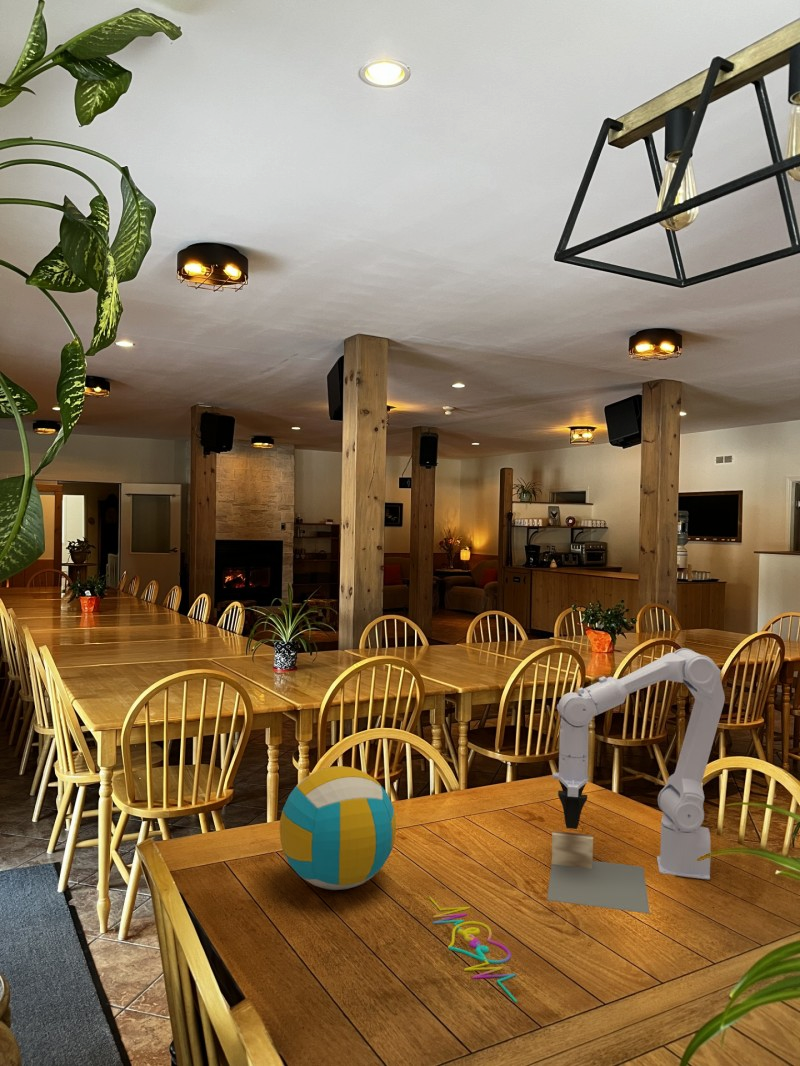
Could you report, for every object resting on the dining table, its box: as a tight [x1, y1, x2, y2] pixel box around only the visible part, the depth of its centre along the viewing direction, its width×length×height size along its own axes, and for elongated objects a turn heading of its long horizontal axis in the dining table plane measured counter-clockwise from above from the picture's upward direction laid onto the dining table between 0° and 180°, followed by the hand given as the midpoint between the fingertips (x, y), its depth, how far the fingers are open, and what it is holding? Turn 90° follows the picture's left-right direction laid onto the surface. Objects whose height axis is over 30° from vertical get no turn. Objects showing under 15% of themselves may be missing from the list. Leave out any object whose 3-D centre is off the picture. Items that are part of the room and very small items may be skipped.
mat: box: [546, 860, 650, 915], centre depth 154 cm, size 18×20×1 cm
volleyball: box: [279, 765, 397, 891], centre depth 152 cm, size 22×22×22 cm
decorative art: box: [428, 896, 518, 1004], centre depth 132 cm, size 34×1×10 cm
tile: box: [551, 830, 594, 869], centre depth 162 cm, size 8×2×6 cm, turn 76°
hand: (571, 820), depth 161 cm, fingers open, 7 cm apart
